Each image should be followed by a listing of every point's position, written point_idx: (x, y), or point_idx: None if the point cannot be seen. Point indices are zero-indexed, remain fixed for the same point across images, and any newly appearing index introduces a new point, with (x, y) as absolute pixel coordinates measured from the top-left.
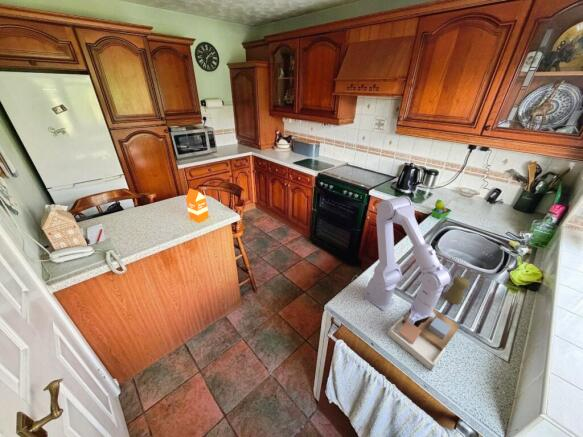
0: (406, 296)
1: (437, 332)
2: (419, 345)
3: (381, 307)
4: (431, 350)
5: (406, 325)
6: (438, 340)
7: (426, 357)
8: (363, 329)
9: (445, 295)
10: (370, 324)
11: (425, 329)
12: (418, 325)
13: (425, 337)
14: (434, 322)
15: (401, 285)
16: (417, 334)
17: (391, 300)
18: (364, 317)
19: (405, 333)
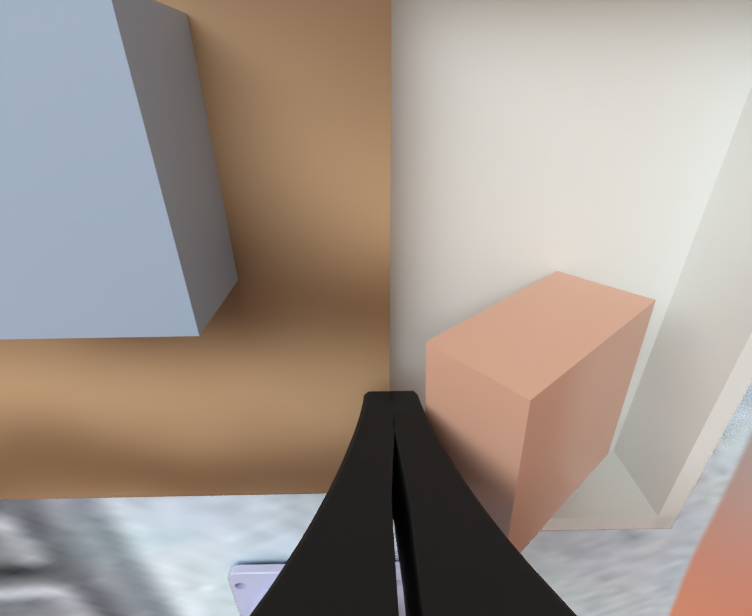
0: (69, 539)
1: (187, 160)
2: (534, 216)
3: (397, 587)
4: (492, 65)
5: (546, 507)
6: (285, 65)
7: (660, 60)
8: (689, 548)
9: None
10: (608, 546)
11: (282, 296)
12: (446, 454)
13: (388, 231)
14: (71, 312)
15: (18, 599)
16: (584, 365)
17: (253, 583)
18: (576, 586)
19: (604, 425)
